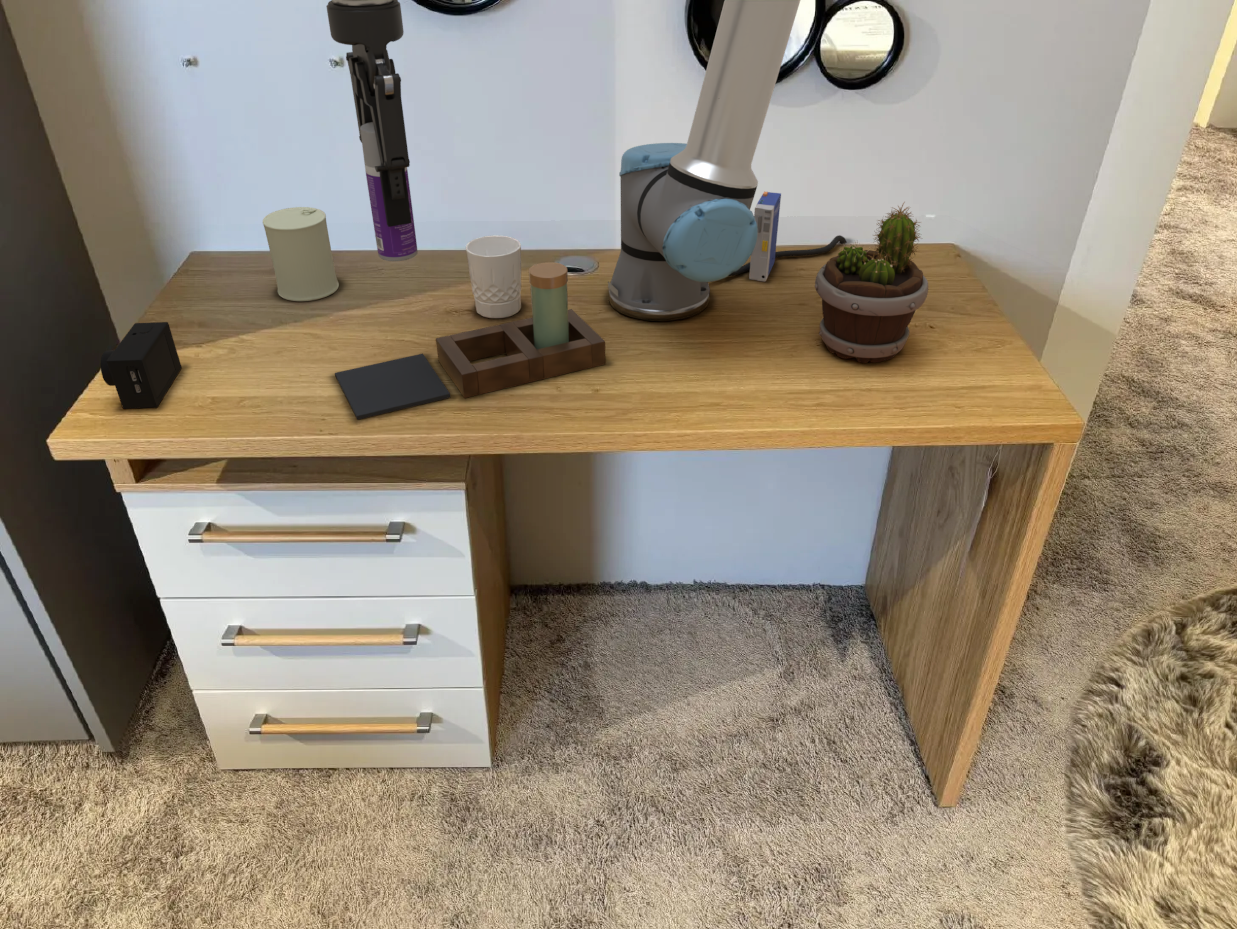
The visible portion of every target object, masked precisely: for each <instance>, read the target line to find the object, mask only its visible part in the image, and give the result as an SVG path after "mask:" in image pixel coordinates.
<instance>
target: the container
mask: <svg viewBox="0 0 1237 929" xmlns="http://www.w3.org/2000/svg"><path fill="white" fill-rule="evenodd" d="M360 131H361V139H362V143H361V146H362V154H363V162H364V170H365V176H366V177H365V178H366V184H367V191H368V198H369V203H370V209H371V216H372V223H373V229H374V236H375V243H376V250H377V256H378V257H379V258H380V259H381V260H383V261H386V262H403V261H407V260H411V259H413V258H415V257H416V256H417V255H418V242H417V235H416V226H415V220H414V218H415V217H414V211H413V210H414V209H413V203H412V195H411V188H410V187H411V186H410V178H409V172H408V167H405V175H406V183H407V191H408V198H409V206H410V214H411V222H412V223H409V224H403V225H397V226H391V227H388V225H387V221H386V214H385V207H384V201H383V194H382V187H381V180H380V173H379V172H376V170H375V166H381V165H380V164H381V161H380V156H379V151H378V146H377V141H376V135H375V130H374V125H373V122H370V123H366V124H364V125H362V126H361V127H360Z"/></svg>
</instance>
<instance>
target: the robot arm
mask: <svg viewBox="0 0 1237 929" xmlns="http://www.w3.org/2000/svg"><path fill="white" fill-rule="evenodd" d="M800 2H801V0H724V1H723V5H722V10H721V12H720V17H719V20H718V24H717V28H716V32H715V36H714V39H713V43H712V46H711V50H710V54H709V58H708V62H707V66H706V71H705V73H704V77H703V81H702V85H701V87H700V88H701V89H700V93H699V96H698V100H697V104H696V108H695V111H694V114H693V119H692V123H691V127H690V130H689V135H688V138H687V142H686V143H682V142H659V143H657V142H656V143H647V144H641V145H636V146H633V147H630V148H629V149H626V150H625V151H624V152H623V154H622V155H621V161H620V162H621V163H620V171H619V175H618V176H619V177H620V252H619V256H618V258H617V261H616V264H615V267H614V270H613V273H612V276H611V280H610V281H607V288H608V301H609V304H610V306H611V307H612V308H613V309H614V310H616V312H619V313H620V314H622V315H625V316H627V317H630V318H634V319H637V320H642V321H643V320H644V321H651V322H669V321H671V322H672V321H679V320H683V319H687V318H690V317H694V316H696V315H698V314H700V313H702V312H703V311H704V310H705V309H706V308H707V307H708V306H709V303H710V293H711V292H710V291H711V288H710V284H709V283H712V282H717V281H720V280H723V279H726V278H728V277H734V276H738V275H741V274H743V273H746V272H748V271H750V261H749V262H748V260H749V259H750V258H751V254H752V252H753V250H754V248H755V245H756V242H757V236H758V228H757V223H756V221H755V217H754V213H753V211H752V210H751V208H752V205H753V201H754V198H755V195H756V192H757V189H758V184H759V181H758V178H757V177H756V174H755V173H754V171H753V169H752V163H753V161H754V156H755V154H756V150H757V147H758V143H759V140H760V137H761V133H762V130H763V127H764V123H765V121H766V120H765V119H766V116H767V113H768V110H769V106H770V103H771V100H772V97H773V93H774V89H775V86H776V84H777V80H778V77H779V73H780V70H781V67H782V63H783V59H784V56H785V52H786V50H787V48H788V43H789V40H790V36H791V33H792V30H793V26H794V24H795V20H796V16H797V13H798V10H799V7H800ZM326 11H327V12H326V13H327V19H328V26H329V32H330V37H331V38H332V40H333V41H334V42H336V43H338V44H342V45H345V46H346V45H347V46H351V50H352V51H350V52H349V51H348V52H346V53H345V54H346V56H345V60H346V62H347V67H348V72H349V75H350V82H351V88H352V94H353V102H354V107H355V114H356V120H357V128H358V133H359V136H358V137H359V141H360V143H361V144H362V139H361V131H360V127H361V126H362V125H364V124H366V123H370V122H373V125H374V130H375V135H376V141H377V146H378V151H379V156H380V161H381V164H380V165H381V166H375V170H376V172H379V173H380V180H381V187H382V194H383V201H384V207H385V214H386V221H387V225H388V227H391V226H397V225H403V224H409V223H412V222H411V214H410V206H409V198H408V191H407V183H406V175H405V167H407V168H410V166H411V164H410V163H411V161H410V157H409V149H408V141H407V132H406V125H405V117H404V109H403V101H402V78H401V76H400V74H399V73H396V68H395V62H394V59H393V58H390V57H389V51H388V48H387V45H388V44H389V43H391V42H392V43H393V42H396V41H399V40H400V39H402V38H403V36H404V33H405V32H404V23H403V16H402V6H401V3H400V1H399V0H329V1H328V2H327V5H326ZM847 242H848V241H847V240H846V238H845V237H844V236H843V235H836V236H834V238H833V239H832V240H831V241H830V242H829V243H828V244H827V245H825V246H821V247H818V248H809V249H808V248H807V249H792V250H790V249H789V250H780V251H779V250H778V251H776V252H775V259H777V258H778V259H779V258H786V257H787V258H789V257H806V256H815V255H816V256H817V255H822V254H825V253H828V252H831V251H832V250H833V249H834V248H835V247H836V245H837V244H838V243H840V244H848V243H847Z"/></svg>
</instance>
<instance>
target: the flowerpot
mask: <svg viewBox="0 0 1237 929" xmlns="http://www.w3.org/2000/svg"><path fill="white" fill-rule="evenodd" d="M904 204H905V202H903V203H902V204H901V206H899V205H897V207H898V209H897V208H895V207H893V206H892V207H891V206H890V208H891V209H894V210H891V211H890V212H887V213H885V214H886V215H887V216H886V215H884V218H881V219H877V220H876V221H877V223H876V226H878V227H877V228H876V229H875V230H876V231H875V230H874V233H875V234H873V236H874V238H872V239H873V242H872V243H873V244H874V243H875V242H876V243H877V244H874V246H875V247H873V249H871V247H868V248H869V249H864V246H858V244H860V242H859V243H857V241H854V244H851V243H849V245H850V247H849V246H846V245H845V243H842V244H843V248H840V250H839V252H838V253H837V255H835V256H833V257H831V258H830V259H829V260H827V261H826V263H825V264H823V265H822V267H821V268H819V270H818V271H817V273H816V275H815V279H814V289H815V292H816V293H817V295H818V296H819V297H820V298H821V311H822V318H821V320H820V323H819V332H818V335H819V337H821V339H822V341H823V343H824V344H825V346H826V349H828V351H829V352H830V353H832V354H835V355H836V356H837V357H839V358H840V359H852V358H855V360H856V361H857V362H858V363H861V364H863V363H864V364H865V363H869V362H871V363H881V362H882V363H883V362H884V361H888V360H892V359H893V358H894V357H895V356H896V355H897V354H898V353H899V352H900V351H901V350H903V348H904V347H905V345H906V343H907V341H908V339H909V336H910V328H909V327H908V326H909V325H910V324H911V321H912V319H913V318H914V315H915V313H916V310H918V309H920V308H921V307H922V306H923V305H924V304H925V302H926V299H927V297H928V293H929V281H928V279H927V278H926V277H925V275H924V272H923V270H922V269H920V268H919V267H918V266H917V264H916V263H915V262H914V259H913V258H914V256H916V255H917V254H916V253H917V252H918V251H920V250H919V249H918V248H919V247H920V246H919V245H918V244H919V242H917V241H919V239H921V238H922V234H921V233H920V230H921V229H919V228H921V225H920V223H921V221H918V220H917V218H915V220H913V219H912V217H913V216H914V214H913V213H912V212H913V211H910V212H909V209H910V208H912V207H910V206H906V207H905V208H904V209H903V207H904ZM902 209H903V210H902ZM918 227H919V228H918ZM920 235H921V236H920ZM917 245H918V246H917ZM913 255H914V256H913Z"/></svg>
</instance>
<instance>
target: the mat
mask: <svg viewBox="0 0 1237 929" xmlns="http://www.w3.org/2000/svg"><path fill="white" fill-rule="evenodd" d="M334 376H335V379H336V381H337V383H338V385H339V387H340V389H341V390H342V393H343V395H344V396H345V399H346V401H347V402H348V404H349V406H350V408H351V410H352V413H353V414H354V416H355V419H356V420H363V419H367V418H371V417H375V416H379V415H380V416H381V415H383V414H387V413H392V412H395V411H400V410H405V409H408V408H413V407H417V406H421V405H425V404H430V403H434V402H437V401H442V400H446V399H449V398H451V393H450V391H449V390H448V389H447V387H446V385H445V384H444V383H443V381H442V380H441V378H440V376H439V375H438V374H437V373H436V371H435V369H434V368H433V366H432V365H431V364H430V362H429V361H428V359H427V357H426V356H425V355H424V354H423V353H419V354H418V353H417V354H414V355H410V356H404V357H401V358H396V359H392V360H387V361H382V362H378V363H374V364H369V365H364V366H360V367H355V368H351V369H347V370H342V371H338V372H337V371H336V372H334Z"/></svg>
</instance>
